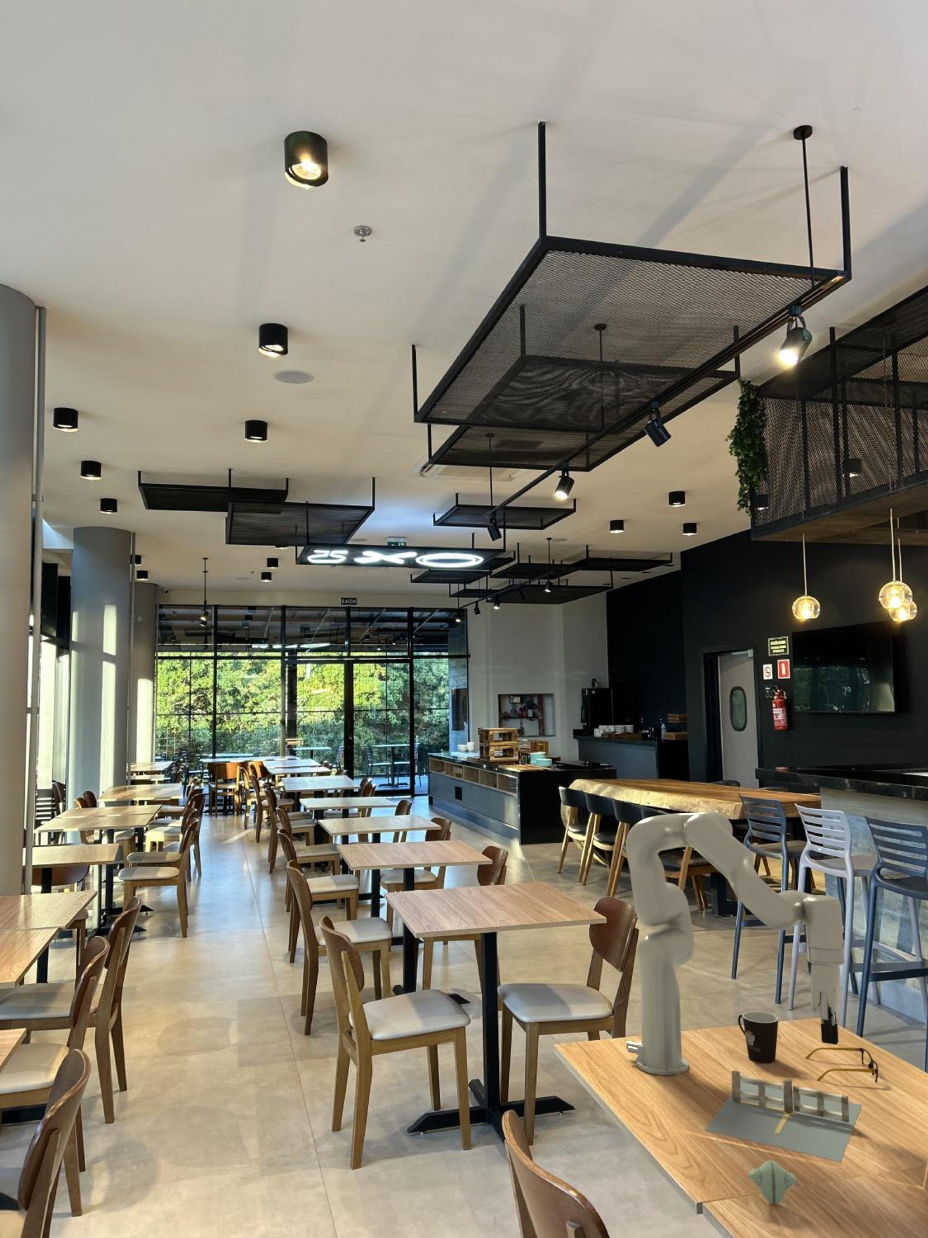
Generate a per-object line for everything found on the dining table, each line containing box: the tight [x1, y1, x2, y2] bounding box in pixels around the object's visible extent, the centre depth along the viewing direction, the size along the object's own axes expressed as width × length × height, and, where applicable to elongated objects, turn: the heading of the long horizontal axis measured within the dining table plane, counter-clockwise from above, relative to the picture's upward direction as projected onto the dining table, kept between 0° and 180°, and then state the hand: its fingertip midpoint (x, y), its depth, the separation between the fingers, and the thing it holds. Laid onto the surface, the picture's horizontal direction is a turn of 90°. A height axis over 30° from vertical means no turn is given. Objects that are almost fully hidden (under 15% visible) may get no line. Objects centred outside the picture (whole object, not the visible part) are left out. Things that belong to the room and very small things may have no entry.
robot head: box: [748, 1159, 798, 1205], centre depth 155 cm, size 8×4×7 cm, turn 78°
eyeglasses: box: [804, 1047, 879, 1083], centre depth 215 cm, size 14×14×4 cm
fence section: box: [731, 1070, 793, 1113], centre depth 194 cm, size 13×2×6 cm, turn 59°
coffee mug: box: [737, 1011, 779, 1065], centre depth 224 cm, size 12×9×10 cm
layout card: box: [704, 1082, 863, 1163], centre depth 188 cm, size 26×30×1 cm
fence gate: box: [792, 1085, 849, 1122], centre depth 188 cm, size 11×1×5 cm, turn 59°
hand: (830, 1042), depth 193 cm, fingers closed
